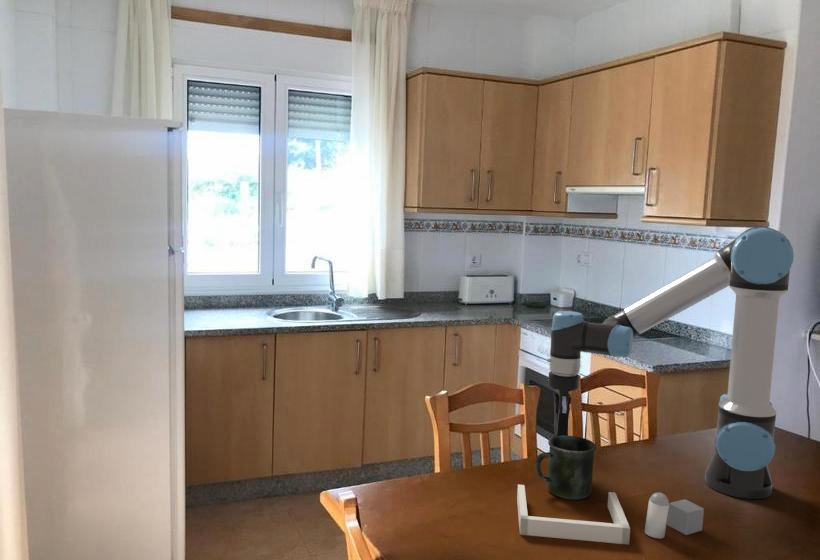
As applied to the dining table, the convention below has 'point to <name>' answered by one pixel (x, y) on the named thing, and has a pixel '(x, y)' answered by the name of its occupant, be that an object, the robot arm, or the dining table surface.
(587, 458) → the mug
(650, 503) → the cylinder
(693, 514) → the grey box
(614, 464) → the dining table surface
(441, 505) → the dining table surface
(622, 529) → the corral
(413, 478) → the dining table surface
